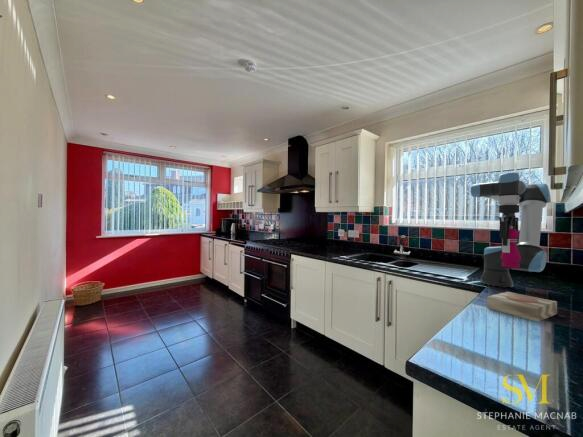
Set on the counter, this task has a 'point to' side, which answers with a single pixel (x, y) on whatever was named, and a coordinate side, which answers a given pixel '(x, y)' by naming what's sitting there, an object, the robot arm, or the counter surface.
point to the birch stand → (522, 305)
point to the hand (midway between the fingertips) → (509, 252)
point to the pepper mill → (512, 251)
